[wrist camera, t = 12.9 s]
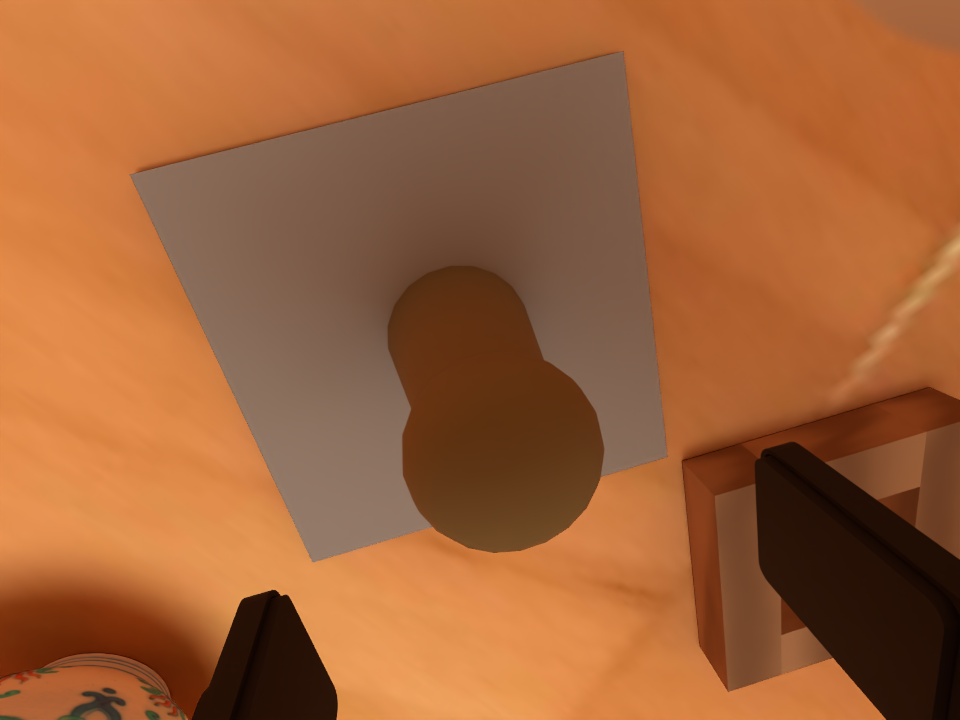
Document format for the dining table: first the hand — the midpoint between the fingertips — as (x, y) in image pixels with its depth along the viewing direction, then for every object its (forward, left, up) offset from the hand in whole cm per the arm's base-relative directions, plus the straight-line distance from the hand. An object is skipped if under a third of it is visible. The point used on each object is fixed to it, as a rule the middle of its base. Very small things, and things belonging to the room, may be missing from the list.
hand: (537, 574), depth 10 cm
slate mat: (0, 0, -14) cm, 14 cm away
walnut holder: (-17, +17, -14) cm, 27 cm away
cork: (0, 0, -13) cm, 13 cm away
